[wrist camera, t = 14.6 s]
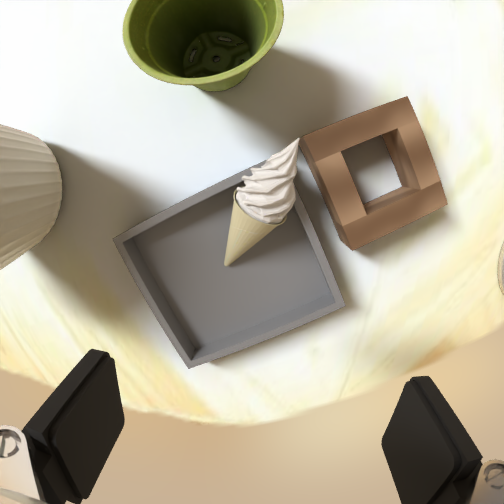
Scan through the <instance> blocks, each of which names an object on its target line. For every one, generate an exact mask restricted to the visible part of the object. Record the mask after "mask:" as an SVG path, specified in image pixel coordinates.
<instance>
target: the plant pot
mask: <svg viewBox="0 0 504 504" xmlns="http://www.w3.org/2000/svg"><path fill="white" fill-rule="evenodd" d="M283 18H284V11H283V3H282V0H132V2H131V3H130V5H129V7H128V9H127V12H126V14H125V18H124V22H123V41H124V45H125V47H126V50H127V52H128V54H129V56H130V58H131V59H132V60H133V62H134V63H135V64H136V65H137V66H138V67H139V68H140V69H141V70H143V71H144V72H145V73H147V74H148V75H150V76H152V77H154V78H156V79H158V80H161V81H164V82H168V83H173V84H180V85H193V86H195V87H197V88H200V89H202V90H205V91H223V90H227V89H229V88H232V87H234V86H235V85H237V84H238V83H240V82H241V81H242V80H243V79H244V78H245V77H246V76H247V74H248V72H249V71H250V69H251V67H252V66H253V65H254V64H256V63H257V62H258V61H260V60H261V59H262V58H263V57H264V56H265V55H266V54H267V53H268V51H269V50H270V49H271V48H272V46H273V45H274V44H275V42H276V40H277V38H278V36H279V34H280V31H281V28H282V25H283ZM221 36H222V37H228V38H230V39H232V41H231V42H227V41H223V40H218V38H219V37H221ZM199 41H200V42H199ZM240 42H243V43H241V44H239V45H237V44H238V43H240ZM235 45H236V46H235ZM193 49H195V50H197V51H196V53H195V55H194V58H193V62H191V61H189V57H190V55H191V52H192V50H193ZM214 56H219V57H220V60H219V61H217V62H214V61H213V57H214ZM241 60H244V62H243V64H241V65H240V62H241ZM194 76H195V77H194Z"/></svg>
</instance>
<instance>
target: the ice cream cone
mask: <svg viewBox="0 0 504 504" xmlns="http://www.w3.org/2000/svg"><path fill="white" fill-rule="evenodd" d="M298 144H299V137H298V138H297V139H296V140H295V141H294V142H292V143H291V144H290V145H288V146H287V147H286V148H284V149H283V150H282V151H280V152H279V153H276V154H274V155H272V156H270V157H271V158H270V159H268V160H267V161H266V163H265V164H264V165H263V166H261V168H251V169H250V170H251V172H252V174H253V175H252V176H250V177H249V176H245V175H244V176H243V177H242V180H243V181H244V183H245V185H246V186H243V187H237V189H236V190H235V192H234V204H233V210H232V216H231V223H230V228H229V234H228V241H227V247H226V254H225V261H224V265H225V266H229V265H230V264H231V263H233V262H234V261H235V260H236V259H237V258H239V257H240V256H241V255H242V254H244V253H245V252H246V251H247V250H249V249H250V248H251V247H252V246H254V245H255V244H256V243H257V242H258V241H260V240H261V239H262V238H263V237H265V236H266V235H267V234H268V233H270V232H271V231H272V230H273V229H274V228H275V227H277V226H278V225H281V224H283V223H284V222H285V220H286V217H287V215H286V214H287V213H288V212H289V210H290V209H291V208H292V206H293V204H294V202H295V200H296V198H295V195H296V194H295V189H294V184H293V179H294V177H295V175H296V173H297V166H296V162H297V153H298Z"/></svg>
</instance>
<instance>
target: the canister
mask: <svg viewBox="0 0 504 504" xmlns="http://www.w3.org/2000/svg"><path fill="white" fill-rule="evenodd" d="M62 191H63V189H62V179H61V172H60V170H59V164H58V163H57V161H56V157H55V156H54V155H53V153H52V150H51V149H50V148H48V146H47V144H46V143H44V142H42V140H41V139H39V138H38V137H35V136H33V135H32V134H29V133H27V132H24V131H21V130H17V129H14V128H11V127H8V126H4V125H1V124H0V270H1V269H2V268H4V267H5V266H7V265H8V264H10V263H11V262H13V261H14V260H16V259H17V258H18V257H20V256H21V255H23V254H24V253H25V252H27V251H28V250H30V249H31V248H33V247H34V246H35V245H36V244H38V243H39V242H40V241H41V240H43V239H44V237H45V236H46V235H47V234H48V233H49V232H50V230H51V227H52V226H53V225H54V224H55V220H56V218H57V217H58V212H59V210H60V208H61V201H62Z"/></svg>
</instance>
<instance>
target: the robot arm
mask: <svg viewBox="0 0 504 504" xmlns="http://www.w3.org/2000/svg"><path fill="white" fill-rule="evenodd" d="M498 280H499V285H500V288H501V290H502V292H503V294H504V243H503V246H502V249H501V252H500V257H499V264H498ZM123 426H124V413H123V408H122V403H121V398H120V392H119V386H118V380H117V374H116V368H115V361H114V359H113V358H111V357H110V355H109V353H108V352H104V351H100V350H95V349H91V350H89V351H88V353H87V354H86V355H85V356H84V357H83V358H82V359H81V360H80V362H79V363H78V364H77V365H76V366H75V367H74V368H73V370H72V371H71V372H70V373H69V374H68V375H67V377H66V378H65V379H64V380H63V381H62V382H61V383H60V385H59V386H58V387H57V388H56V389H55V391H54V392H53V393H52V394H51V395H50V397H49V398H48V399H47V400H46V401H45V402H44V404H43V405H42V406H41V407H40V409H39V410H38V411H37V412H36V413H35V415H34V416H33V417H32V418H31V419H30V421H29V422H28V423H27V424H26V426H25V427H24V428H23V430H22V431H20V430H19V429H17V428H16V427H12V426H8V425H6V426H5V425H2V426H0V504H65V502H66V500H67V501H70V502H72V503H75V504H80V503H81V501H82V499H87V498H88V497H89V495H90V493H91V491H92V489H93V487H94V485H95V483H96V481H97V479H98V477H99V475H100V473H101V470H102V469H103V467H104V465H105V463H106V460H107V458H108V456H109V454H110V452H111V450H112V448H113V446H114V444H115V442H116V440H117V438H118V437H119V434H120V433H121V431H122V429H123ZM382 448H383V451H384V454H385V457H386V460H387V463H388V465H389V468H390V471H391V474H392V477H393V480H394V482H395V486H396V488H397V491H398V494H399V497H400V500H401V503H402V504H504V461H502V460H489V461H487V462H485V463H484V464H482V463H481V459H482V458H483V457H482V455H481V453H480V452H479V450H478V449H477V447H476V446H475V444H474V442H473V441H472V439H471V437H470V436H469V434H468V433H467V431H466V430H465V428H464V427H463V425H462V423H461V422H460V420H459V419H458V417H457V416H456V414H455V413H454V411H453V410H452V408H451V407H450V405H449V404H448V402H447V401H446V400H445V398H444V397H443V395H442V394H441V392H440V391H439V389H438V388H437V386H436V385H435V384H434V382H433V381H432V379H431V378H430V377H429V376H419V377H412V378H411V379H410V381H408V382H406V384H405V386H404V388H403V392H402V394H401V396H400V399H399V401H398V403H397V406H396V408H395V411H394V413H393V415H392V418H391V420H390V422H389V424H388V427H387V429H386V431H385V433H384V435H383V438H382Z"/></svg>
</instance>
